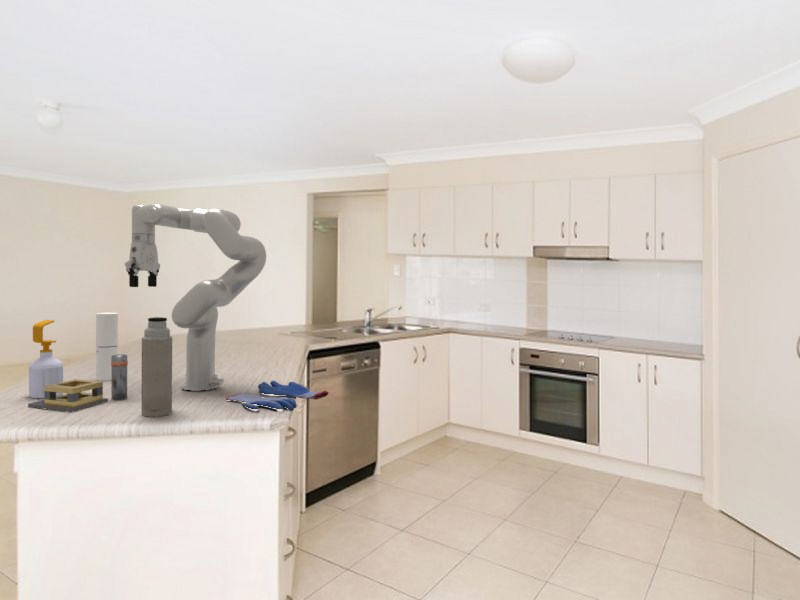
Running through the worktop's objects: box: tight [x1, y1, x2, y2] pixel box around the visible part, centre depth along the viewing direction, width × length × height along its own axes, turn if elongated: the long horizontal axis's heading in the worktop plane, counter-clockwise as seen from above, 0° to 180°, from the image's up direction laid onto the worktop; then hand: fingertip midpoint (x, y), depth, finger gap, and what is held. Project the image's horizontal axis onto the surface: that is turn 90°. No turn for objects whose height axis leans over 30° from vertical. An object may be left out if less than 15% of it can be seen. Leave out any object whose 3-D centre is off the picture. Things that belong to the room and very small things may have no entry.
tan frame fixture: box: [27, 378, 109, 413], centre depth 152 cm, size 16×13×6 cm
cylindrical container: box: [95, 312, 119, 382], centre depth 188 cm, size 7×7×25 cm
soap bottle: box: [28, 319, 64, 399], centre depth 161 cm, size 9×9×25 cm
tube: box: [110, 353, 129, 401], centre depth 160 cm, size 5×5×14 cm
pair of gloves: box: [225, 380, 330, 411], centre depth 165 cm, size 32×26×4 cm
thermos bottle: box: [141, 316, 173, 418], centre depth 144 cm, size 8×8×28 cm
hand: (143, 286), depth 181 cm, fingers open, 9 cm apart
